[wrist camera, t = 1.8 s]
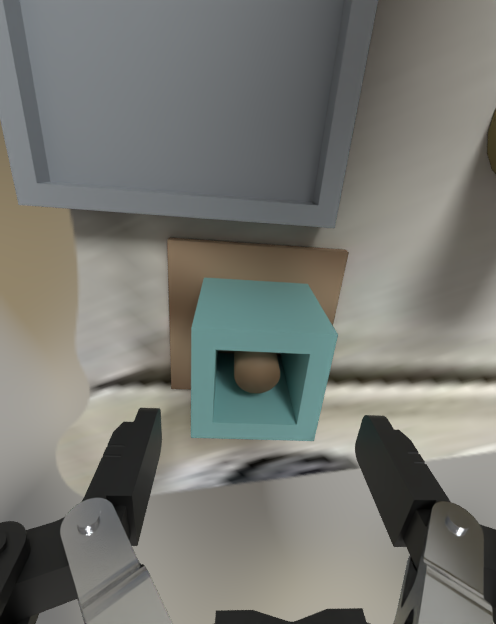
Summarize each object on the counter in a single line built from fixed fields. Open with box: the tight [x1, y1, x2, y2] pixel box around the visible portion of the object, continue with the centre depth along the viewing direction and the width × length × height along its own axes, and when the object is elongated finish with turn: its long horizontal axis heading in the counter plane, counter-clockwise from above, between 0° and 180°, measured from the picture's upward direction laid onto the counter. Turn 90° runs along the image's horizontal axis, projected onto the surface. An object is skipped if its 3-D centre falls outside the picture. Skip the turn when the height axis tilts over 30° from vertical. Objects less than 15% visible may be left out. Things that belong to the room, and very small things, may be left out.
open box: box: [191, 278, 338, 441], centre depth 17 cm, size 8×6×6 cm
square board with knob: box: [167, 238, 349, 393], centre depth 18 cm, size 10×10×6 cm
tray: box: [0, 0, 378, 228], centre depth 13 cm, size 15×15×2 cm
